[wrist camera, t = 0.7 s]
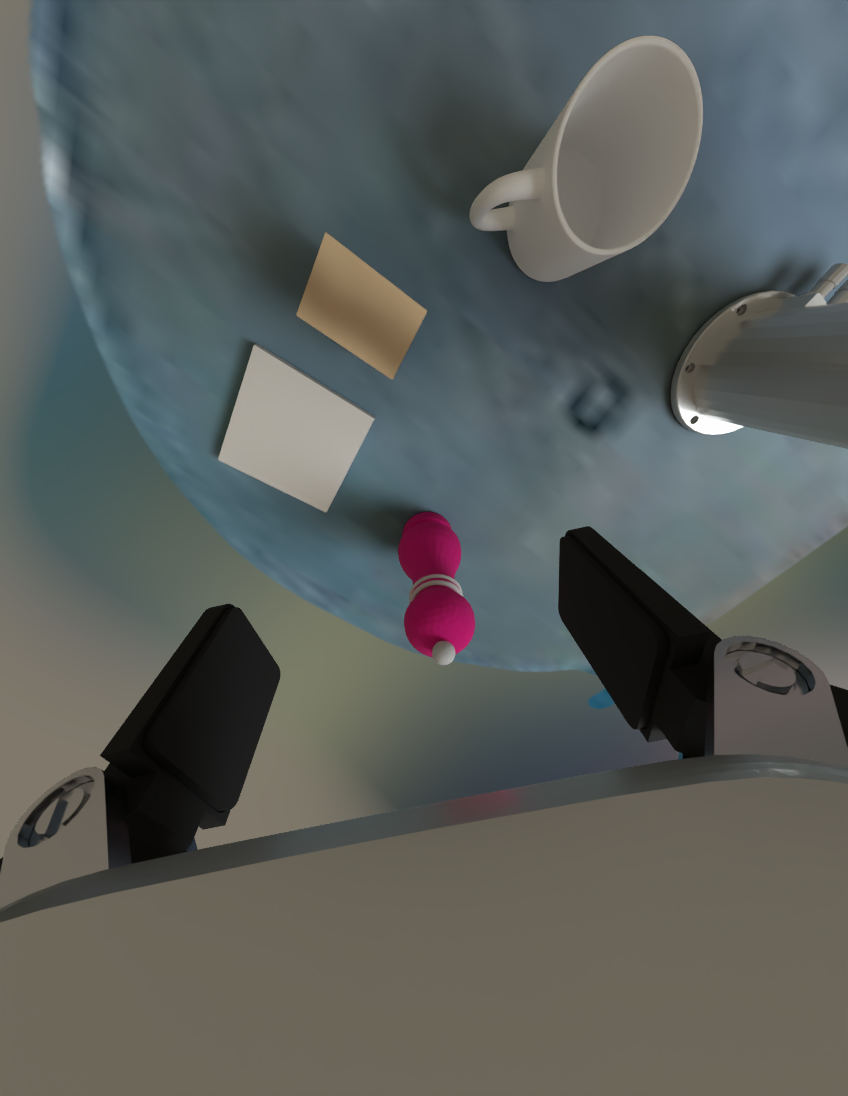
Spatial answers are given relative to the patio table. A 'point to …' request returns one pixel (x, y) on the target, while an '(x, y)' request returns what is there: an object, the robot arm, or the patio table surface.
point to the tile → (293, 431)
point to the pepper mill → (434, 588)
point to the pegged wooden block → (359, 308)
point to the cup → (602, 164)
